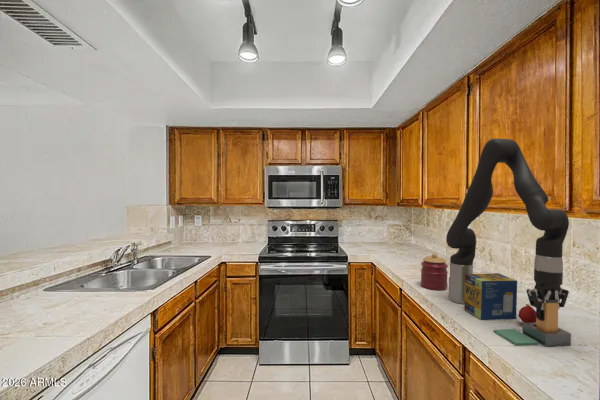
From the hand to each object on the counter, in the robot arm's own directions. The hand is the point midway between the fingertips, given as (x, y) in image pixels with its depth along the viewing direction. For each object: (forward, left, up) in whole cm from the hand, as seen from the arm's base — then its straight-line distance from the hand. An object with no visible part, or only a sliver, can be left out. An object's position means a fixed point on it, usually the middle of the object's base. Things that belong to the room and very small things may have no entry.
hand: (546, 319), depth 104 cm
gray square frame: (0, 0, -7) cm, 7 cm away
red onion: (-11, +3, -7) cm, 14 cm away
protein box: (-22, -4, -7) cm, 24 cm away
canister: (-59, -7, -7) cm, 60 cm away
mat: (-2, -10, -7) cm, 12 cm away
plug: (0, 0, -6) cm, 6 cm away
